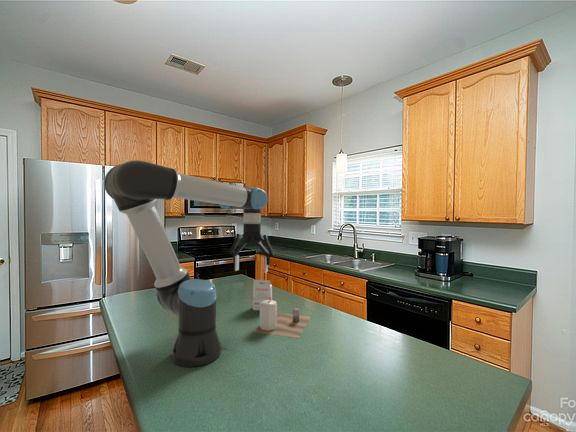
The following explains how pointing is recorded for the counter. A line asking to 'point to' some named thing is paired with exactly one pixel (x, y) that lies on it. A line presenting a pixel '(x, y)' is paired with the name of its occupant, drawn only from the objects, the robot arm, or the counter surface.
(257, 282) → the ink box
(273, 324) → the lidded container
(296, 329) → the board
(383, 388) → the counter surface
